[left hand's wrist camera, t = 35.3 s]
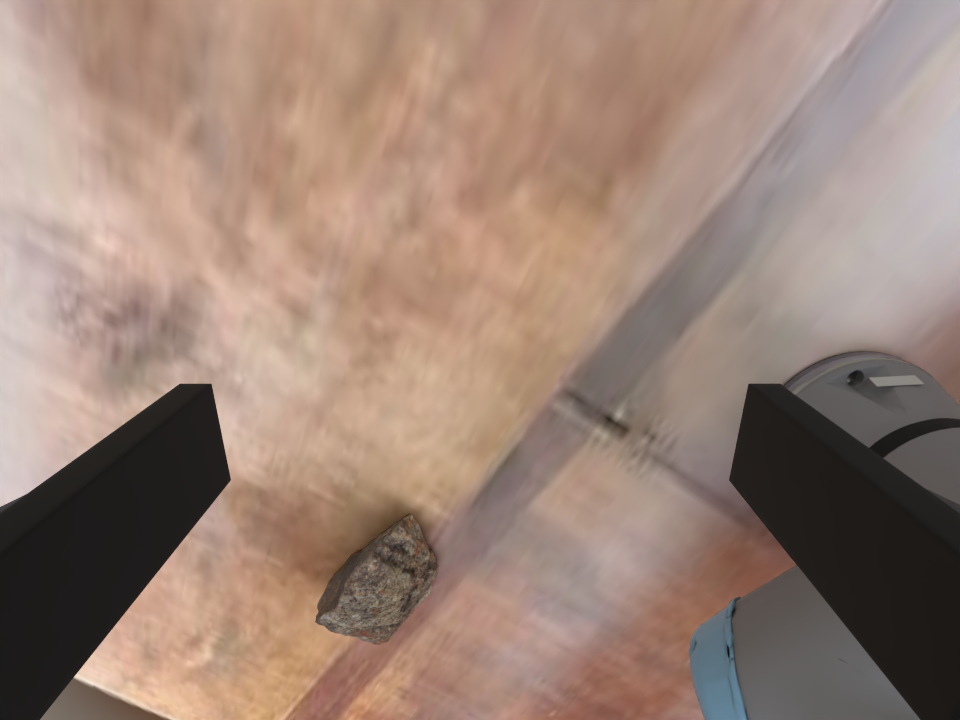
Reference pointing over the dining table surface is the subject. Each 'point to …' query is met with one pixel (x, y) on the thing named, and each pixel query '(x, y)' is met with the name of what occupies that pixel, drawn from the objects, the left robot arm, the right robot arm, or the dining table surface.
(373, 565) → the rock
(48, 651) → the left robot arm
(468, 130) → the dining table surface
